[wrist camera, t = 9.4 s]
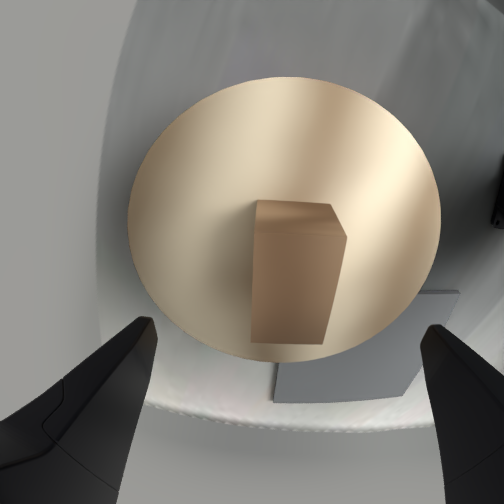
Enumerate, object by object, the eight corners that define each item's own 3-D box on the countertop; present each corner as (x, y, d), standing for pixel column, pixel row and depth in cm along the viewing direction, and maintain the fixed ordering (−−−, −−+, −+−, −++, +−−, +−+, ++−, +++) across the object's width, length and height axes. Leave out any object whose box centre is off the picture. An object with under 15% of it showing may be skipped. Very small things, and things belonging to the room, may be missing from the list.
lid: (457, 111, 10) (510, 125, 7) (388, 351, 17) (403, 397, 14) (121, 85, 10) (70, 88, 7) (158, 343, 18) (141, 389, 15)
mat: (458, 290, 22) (460, 293, 22) (401, 392, 30) (402, 395, 30) (288, 288, 22) (288, 292, 22) (273, 399, 30) (273, 402, 30)
